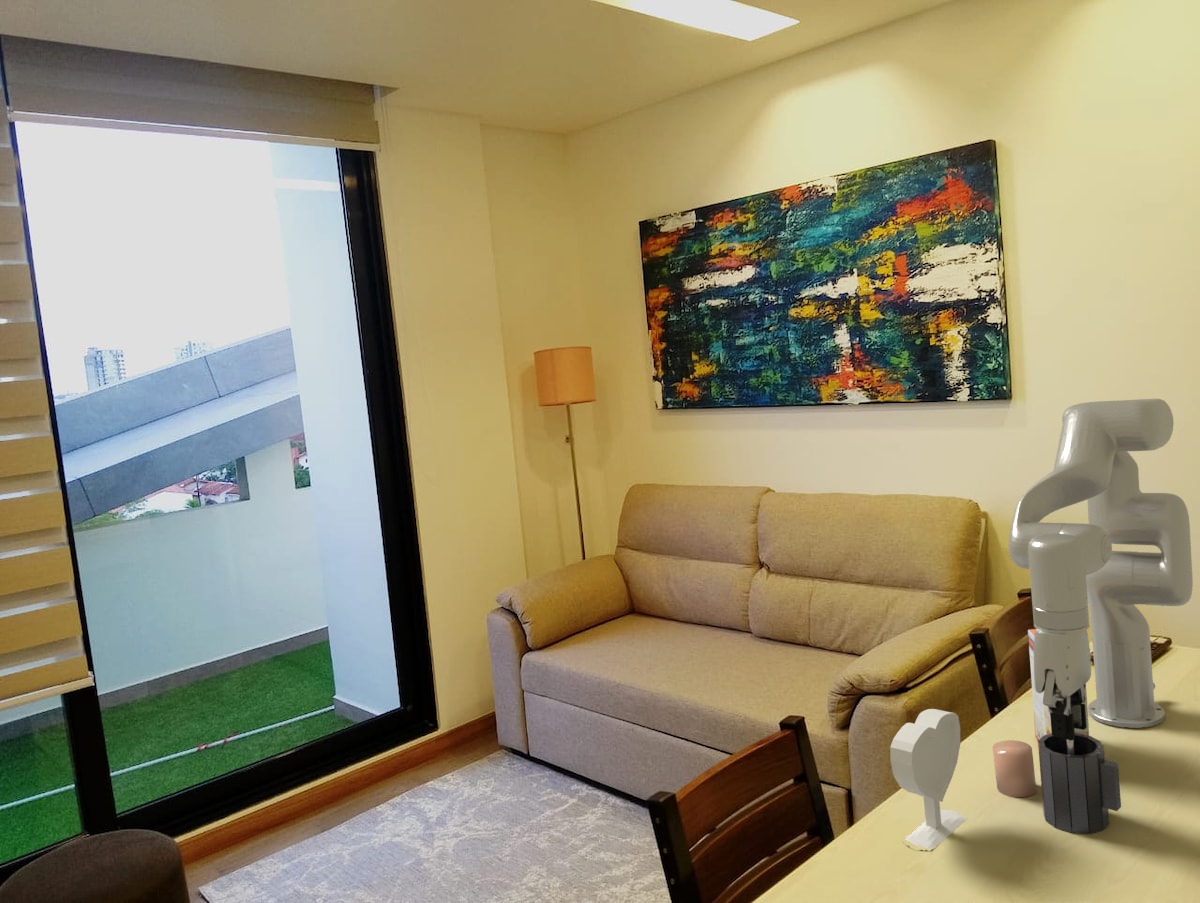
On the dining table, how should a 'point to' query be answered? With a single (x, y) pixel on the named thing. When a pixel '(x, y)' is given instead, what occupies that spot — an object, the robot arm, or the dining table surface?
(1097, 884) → the dining table surface
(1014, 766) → the pink rounded cylinder
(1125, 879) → the dining table surface
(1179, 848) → the dining table surface
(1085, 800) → the grey paneled mug
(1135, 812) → the dining table surface
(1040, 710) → the cracker box
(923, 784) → the heart sculpture
